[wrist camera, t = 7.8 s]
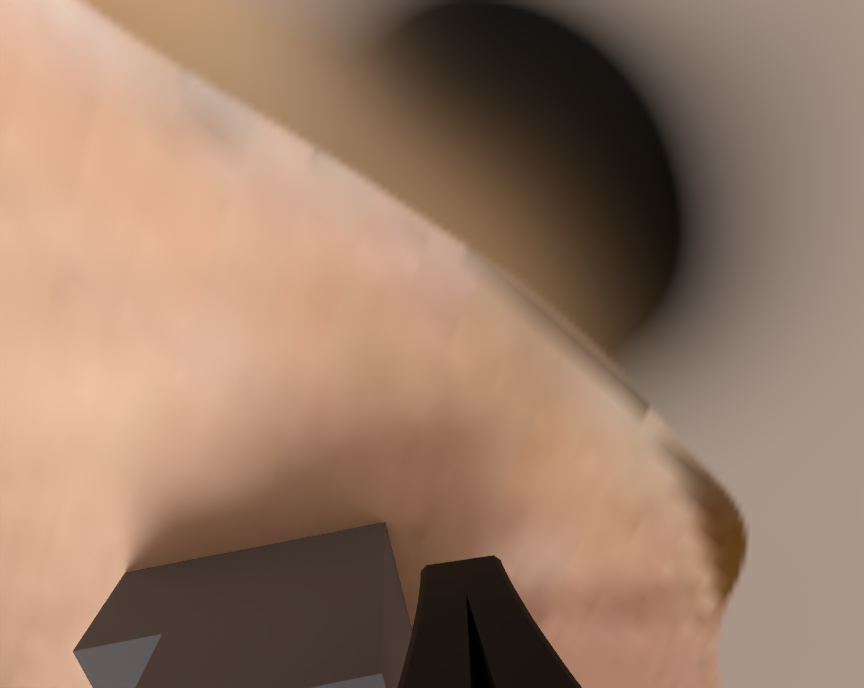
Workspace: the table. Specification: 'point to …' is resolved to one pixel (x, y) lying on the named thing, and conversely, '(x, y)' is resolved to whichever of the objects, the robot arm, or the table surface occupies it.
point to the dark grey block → (257, 619)
